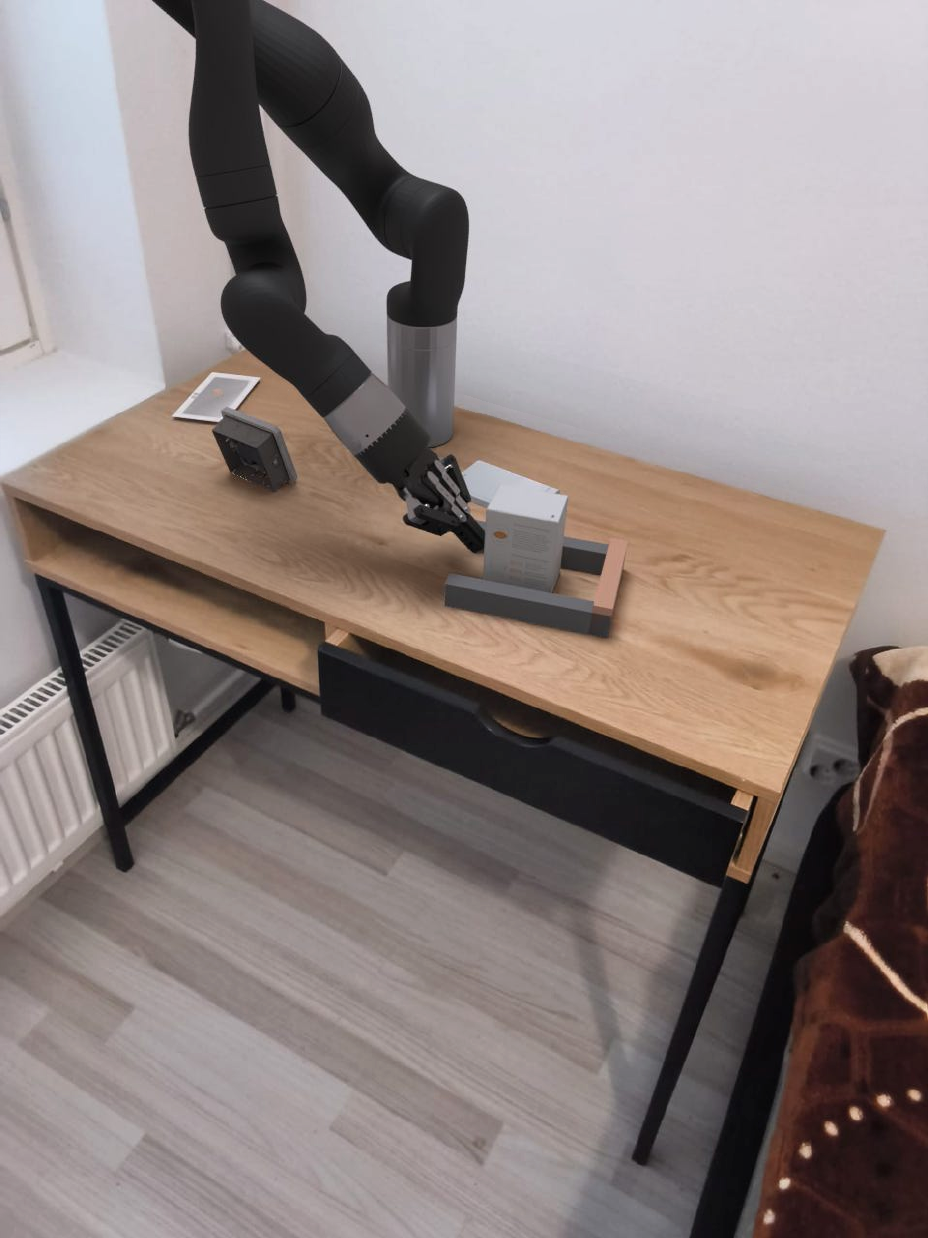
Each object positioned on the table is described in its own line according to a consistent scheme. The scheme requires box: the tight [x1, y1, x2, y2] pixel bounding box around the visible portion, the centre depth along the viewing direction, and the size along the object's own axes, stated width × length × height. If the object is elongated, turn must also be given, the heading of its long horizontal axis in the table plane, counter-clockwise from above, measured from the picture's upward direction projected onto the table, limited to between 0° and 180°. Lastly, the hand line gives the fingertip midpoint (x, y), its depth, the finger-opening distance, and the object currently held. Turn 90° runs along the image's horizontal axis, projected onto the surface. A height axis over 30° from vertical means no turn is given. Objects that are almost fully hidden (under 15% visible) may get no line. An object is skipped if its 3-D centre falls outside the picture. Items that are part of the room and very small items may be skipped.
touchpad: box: [171, 371, 261, 423], centre depth 135 cm, size 8×15×2 cm, turn 170°
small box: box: [482, 484, 569, 593], centre depth 101 cm, size 8×6×10 cm
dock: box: [443, 519, 629, 639], centre depth 103 cm, size 13×18×4 cm
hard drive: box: [459, 459, 561, 509], centre depth 119 cm, size 2×8×12 cm
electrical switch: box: [211, 407, 299, 493], centre depth 116 cm, size 9×5×9 cm, turn 57°
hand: (482, 546), depth 102 cm, fingers closed
